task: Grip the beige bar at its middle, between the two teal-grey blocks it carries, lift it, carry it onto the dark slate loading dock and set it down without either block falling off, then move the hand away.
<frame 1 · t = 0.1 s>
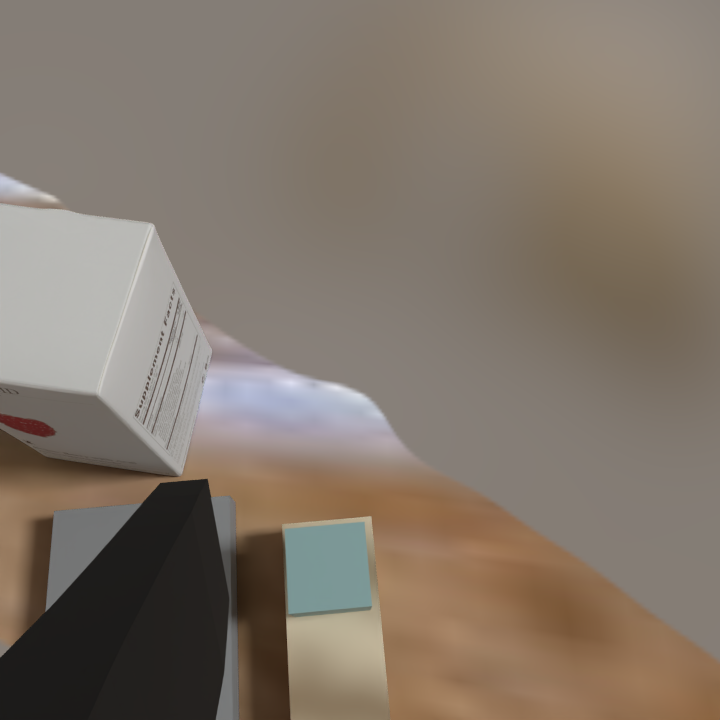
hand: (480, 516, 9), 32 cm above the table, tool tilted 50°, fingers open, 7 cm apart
supplement box: (132, 403, 44), on the table
beige bar: (341, 715, 37), on the table, touching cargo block
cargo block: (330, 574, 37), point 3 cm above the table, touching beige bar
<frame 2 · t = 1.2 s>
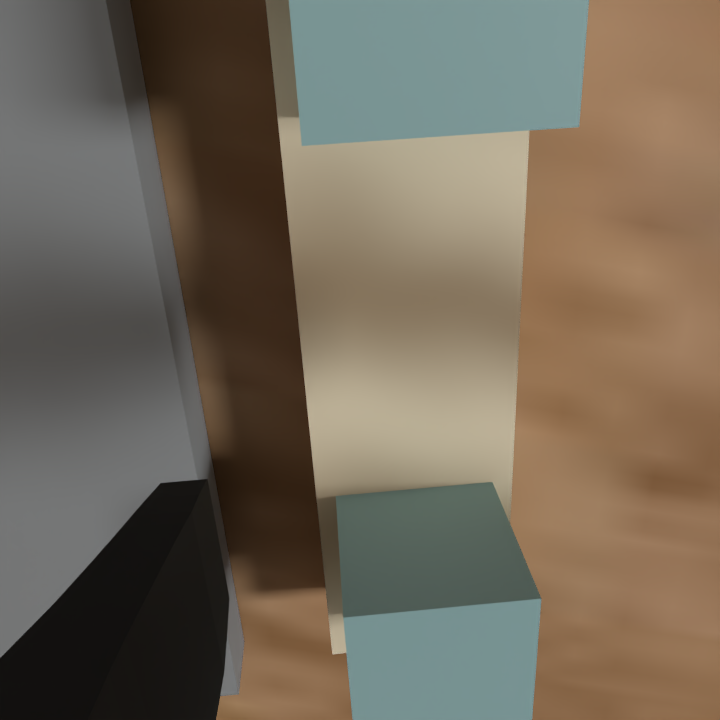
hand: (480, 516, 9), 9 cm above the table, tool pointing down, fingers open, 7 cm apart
beige bar: (395, 282, 18), on the table, touching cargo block, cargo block
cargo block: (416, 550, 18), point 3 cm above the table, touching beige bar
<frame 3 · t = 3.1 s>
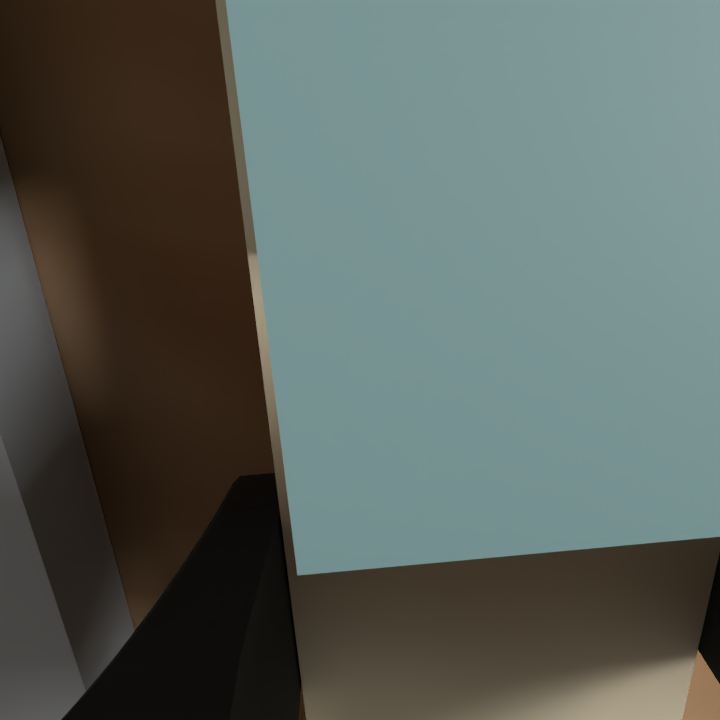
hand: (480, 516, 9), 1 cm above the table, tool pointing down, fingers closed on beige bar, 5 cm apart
beige bar: (455, 449, 11), on the table, touching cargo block, gripper, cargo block
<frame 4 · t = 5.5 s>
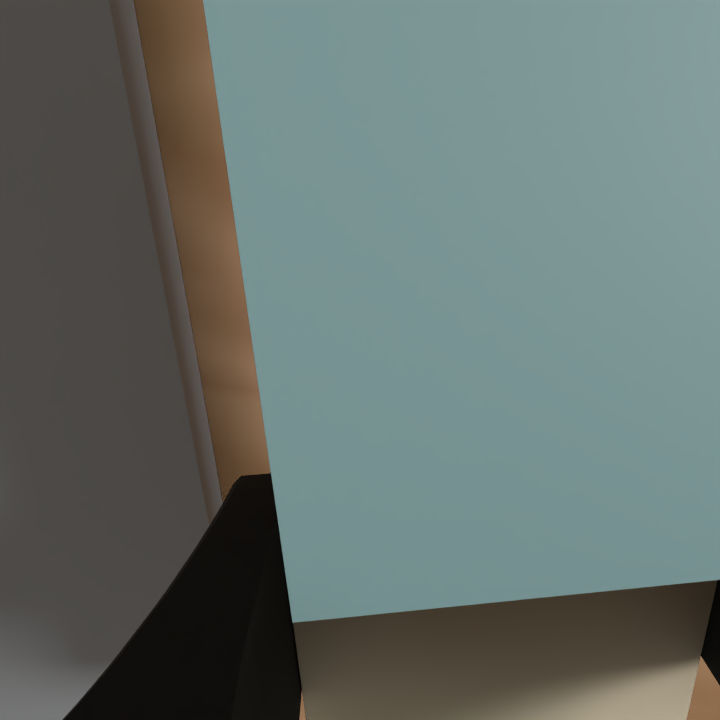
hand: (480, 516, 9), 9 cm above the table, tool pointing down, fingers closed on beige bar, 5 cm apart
beige bar: (456, 450, 11), point 7 cm above the table, touching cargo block, gripper, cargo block
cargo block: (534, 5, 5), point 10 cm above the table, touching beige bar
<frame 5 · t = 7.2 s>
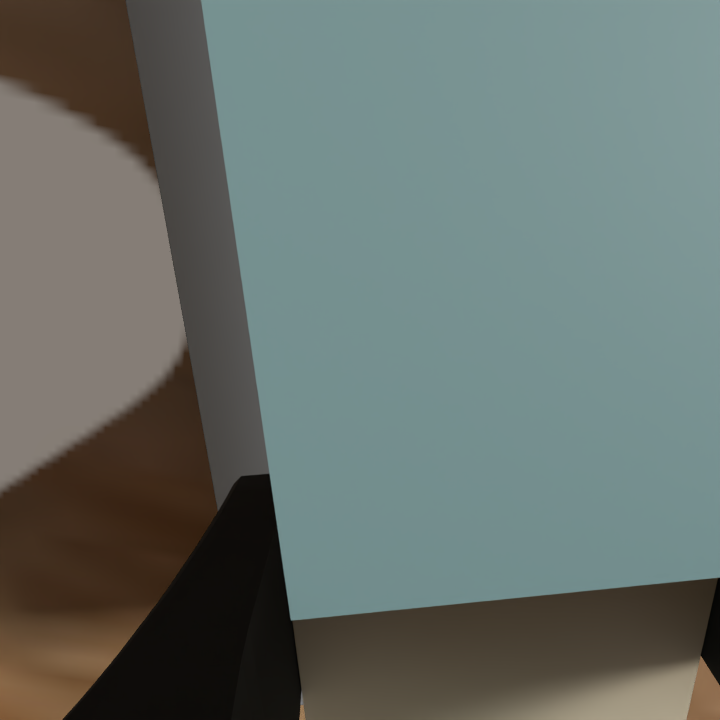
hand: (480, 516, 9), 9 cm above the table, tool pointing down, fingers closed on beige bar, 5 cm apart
loading dock: (399, 295, 17), on the table
beige bar: (456, 449, 11), point 7 cm above the table, touching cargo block, gripper, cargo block
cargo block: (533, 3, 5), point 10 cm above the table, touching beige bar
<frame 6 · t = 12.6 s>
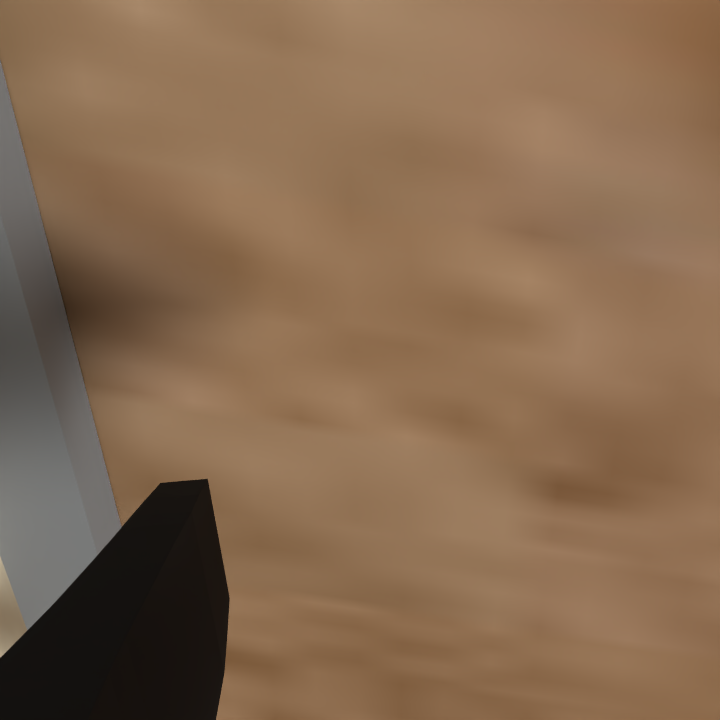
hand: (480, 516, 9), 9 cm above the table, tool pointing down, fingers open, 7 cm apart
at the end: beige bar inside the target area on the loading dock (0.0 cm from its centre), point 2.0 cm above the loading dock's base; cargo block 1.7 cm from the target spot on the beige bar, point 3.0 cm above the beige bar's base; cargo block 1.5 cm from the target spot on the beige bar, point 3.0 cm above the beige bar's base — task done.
